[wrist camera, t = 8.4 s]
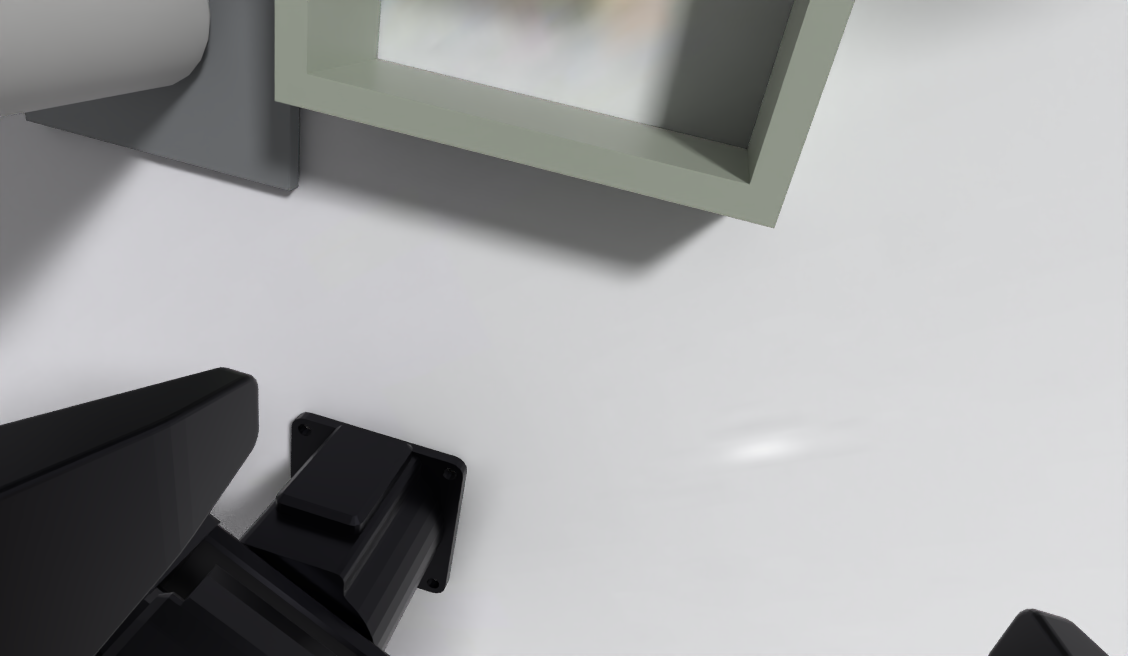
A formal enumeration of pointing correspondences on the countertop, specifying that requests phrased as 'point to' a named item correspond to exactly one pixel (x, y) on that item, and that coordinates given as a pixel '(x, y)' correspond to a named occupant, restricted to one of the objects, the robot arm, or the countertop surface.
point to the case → (562, 111)
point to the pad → (206, 106)
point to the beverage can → (95, 49)
